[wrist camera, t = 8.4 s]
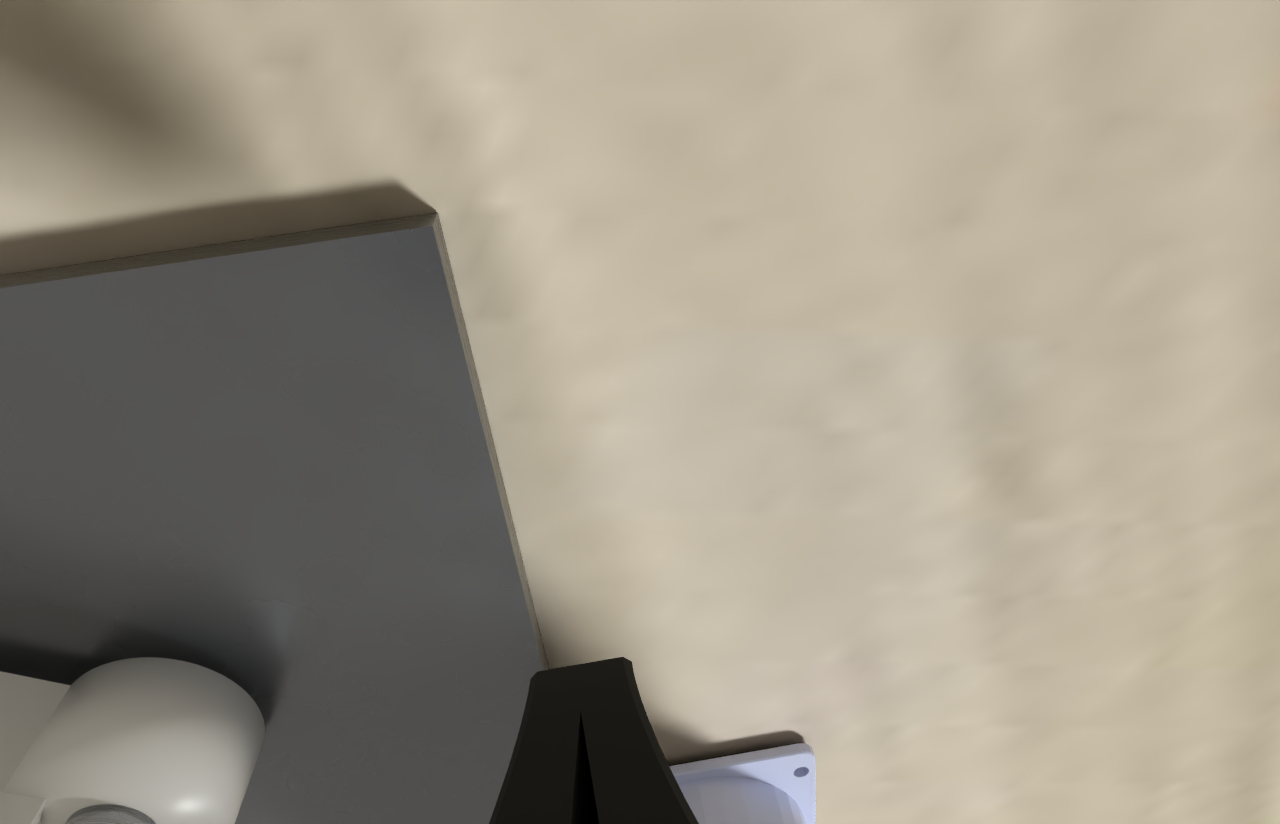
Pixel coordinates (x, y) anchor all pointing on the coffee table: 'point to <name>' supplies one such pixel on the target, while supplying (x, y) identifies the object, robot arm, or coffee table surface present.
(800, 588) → the coffee table surface
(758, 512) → the coffee table surface
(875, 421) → the coffee table surface
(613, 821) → the robot arm
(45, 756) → the white block
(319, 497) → the base plate
